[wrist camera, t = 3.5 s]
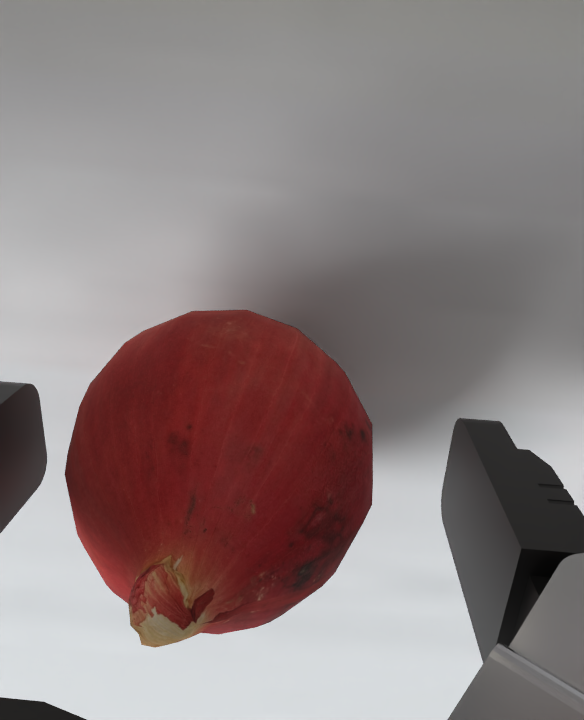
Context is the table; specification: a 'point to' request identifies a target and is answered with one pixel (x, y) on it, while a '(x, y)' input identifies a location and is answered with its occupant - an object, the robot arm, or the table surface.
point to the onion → (218, 473)
